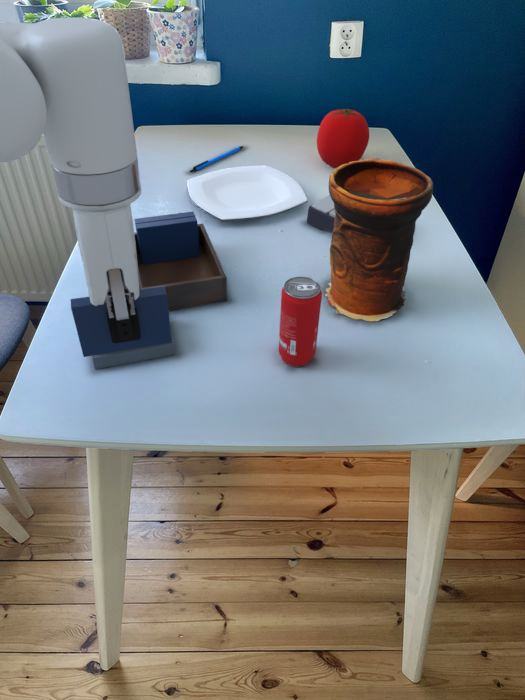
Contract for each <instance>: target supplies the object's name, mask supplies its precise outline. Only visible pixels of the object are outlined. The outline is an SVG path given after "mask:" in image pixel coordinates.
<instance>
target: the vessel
mask: <svg viewBox="0 0 525 700" xmlns="http://www.w3.org/2000/svg"><path fill="white" fill-rule="evenodd" d="M433 191H434V182H433V180H432V178H431V177H430V176H428V175H427V174H425V173H424V172H423V171H422V170H420V169H418V168H416V167H413V166H410V165H407V164H403V163H401V162H398V161H395V160H390V159H381V158H377V157H376V158H365V159H360V160H359V161H352V162H349V163H347V164H343V165H341V166H339V167H337V168H334V169H333V170H332V171H331V173H330V175H329V178H328V193H329V194H328V195H330V196H331V199H332V201H333V202H334V209H335V213H336V215H335V220H334V229H333V232H331V239H330V245H329V265H330V282H329V283H327V285H328V286H329V287H327V288H325V292H326V293H325V294H324V296H325V297H327V298H328V299H327V302H328V304H329V305H330V306H331V307H334V308H335V309H336V310H334V312H335V314H339V315H345V316H346V317H348V318H350V319H353V320H363V321H365V322H379V321H381V320H383V319H388V318H390V317H392V316H393V315H394V314H396V313H398V310H399V309H401V308H400V307H405V302H406V300H407V298H406V293H407V292H406V291H405V290H404V286H405V282H406V278H407V273H408V270H409V269H408V268H409V262H410V258H411V250H412V247H413V244H414V236H415V231H416V222H417V220H418V219H419V218H420V217H421V215H422V213H423V211H424V210H425V209H426V208H427V206H428V205H429V204H430V202H431V201H432V198H433Z"/></svg>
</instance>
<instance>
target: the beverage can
mask: <svg viewBox="0 0 525 700" xmlns="http://www.w3.org/2000/svg"><path fill="white" fill-rule="evenodd" d="M321 288H322V287H321V285H320V283H319V282H318V281H317V280H316V279H314V278H311V277H308V276H293V277H290V278H288V279H287V280H286V281H285V282H284V284H283V287H282V288H281V292H280V293H281V294H280V314H279V315H280V316H279V333H278V334H279V335H278V336H279V337H278V354H279V355H280V357H281V360H282V362H283V363H284V364H286V365H288V366H290V367H293V368H301V367H302V368H303V367H306V366H307V365H310V363H311V362H312V360H313V358H315V355H316V352H317V343H318V333H319V324H320V315H321V307H322V298H323V291H322V289H321Z"/></svg>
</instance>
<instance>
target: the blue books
mask: <svg viewBox="0 0 525 700" xmlns="http://www.w3.org/2000/svg"><path fill="white" fill-rule="evenodd" d="M133 221H134V227H135V232H137V239H138V245H139V251H140V257H141V261H142V265H146V264H152V263H159V262H166V261H173V260H180V259H187V258H194V257H200V251H199V237H198V224H199V223H198V219H197V217H196V214H195V212H194V211H186V212H185V211H184V212H178V213H170V214H162V215H155V216H154V215H153V216H146V217H138V218H133Z"/></svg>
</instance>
